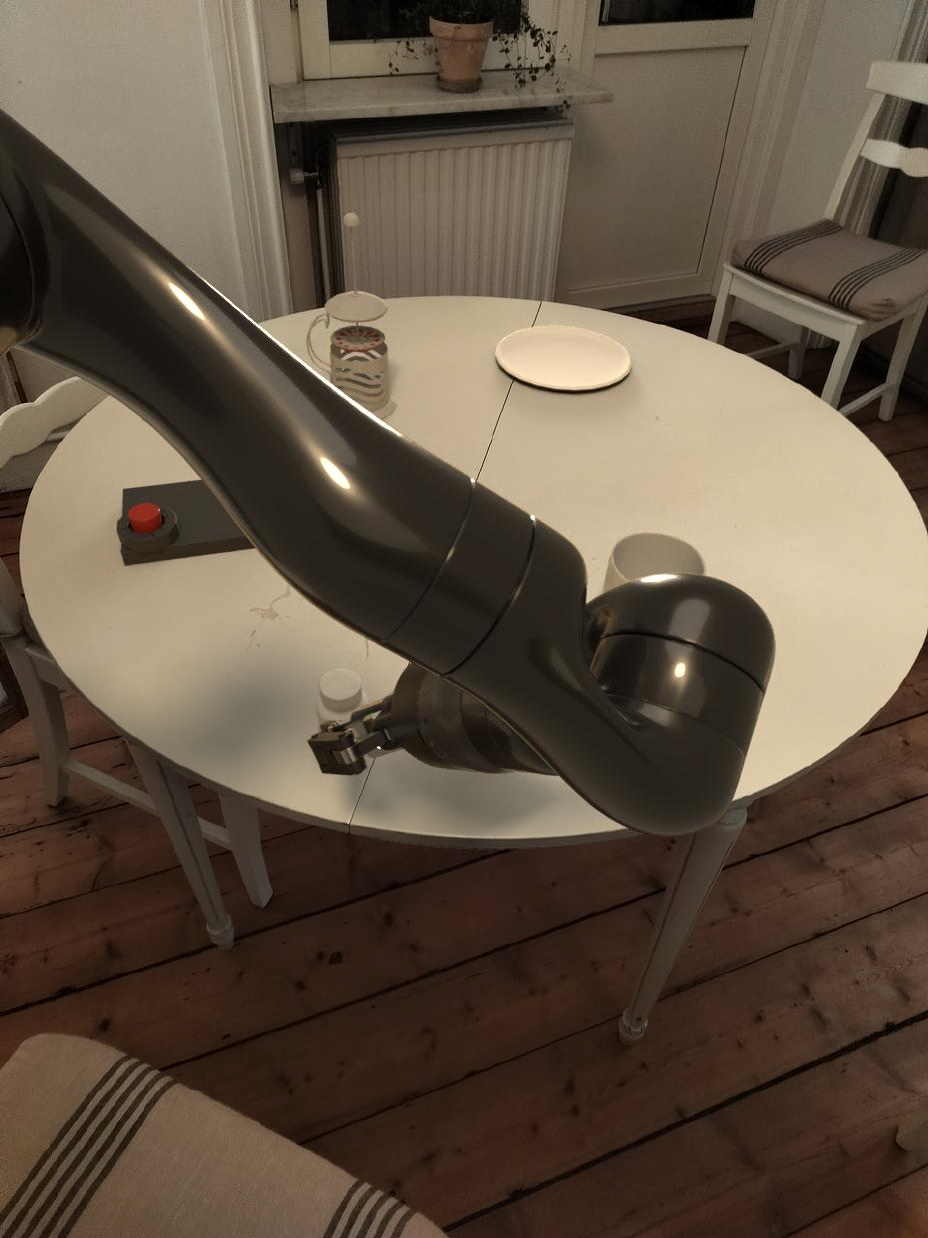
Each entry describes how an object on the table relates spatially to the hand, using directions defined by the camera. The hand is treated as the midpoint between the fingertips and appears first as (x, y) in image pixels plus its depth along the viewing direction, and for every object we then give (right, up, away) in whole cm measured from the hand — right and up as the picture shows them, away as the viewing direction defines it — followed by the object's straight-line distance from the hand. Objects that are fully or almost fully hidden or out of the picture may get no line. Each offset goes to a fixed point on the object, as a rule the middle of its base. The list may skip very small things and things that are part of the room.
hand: (377, 710), depth 63 cm
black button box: (-24, +18, +32) cm, 44 cm away
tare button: (-28, +17, +26) cm, 42 cm away
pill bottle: (-4, -4, +10) cm, 12 cm away
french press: (-9, +37, +53) cm, 65 cm away
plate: (+22, +46, +64) cm, 82 cm away
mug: (+24, +6, +23) cm, 33 cm away
